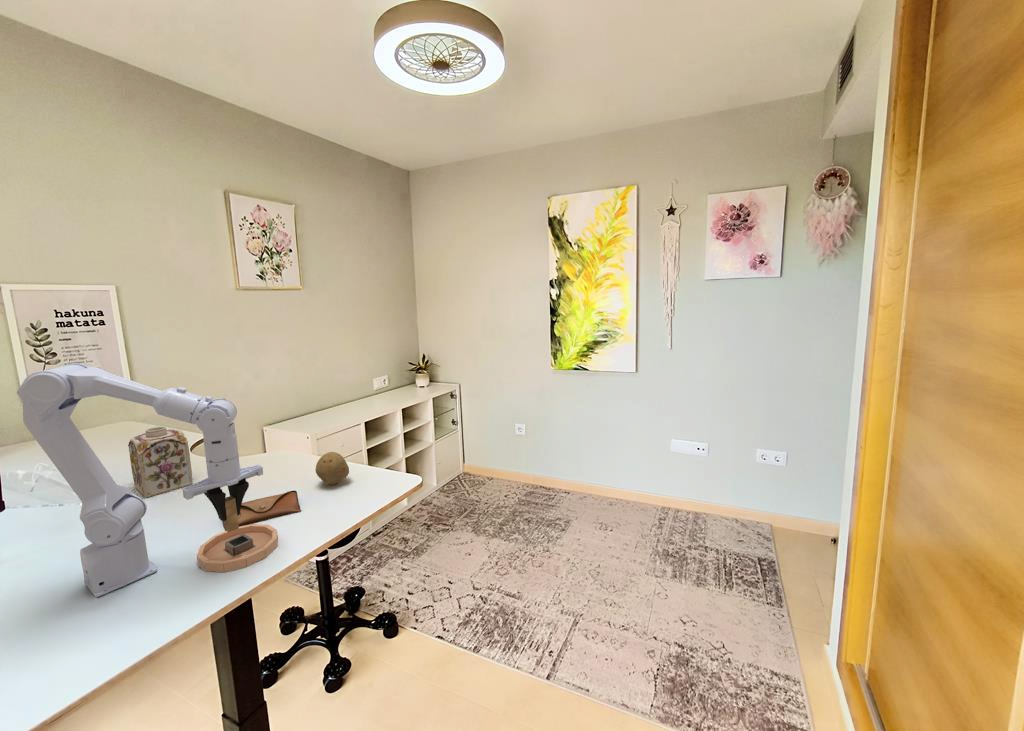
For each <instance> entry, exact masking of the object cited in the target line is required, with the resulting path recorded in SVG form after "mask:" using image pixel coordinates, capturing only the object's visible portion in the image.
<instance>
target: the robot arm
mask: <svg viewBox="0 0 1024 731" xmlns="http://www.w3.org/2000/svg"><path fill="white" fill-rule="evenodd" d="M187 389H188V388H186V387H183V386H179V387H177V388H176V387H169V388H166V389H164V390H160V389H159V388H155V387H151V386H149V385H146V384H143V383H140V382H137V381H134V380H132V379H129V378H126V377H122V376H119V375H117V374H114V373H111V372H108V371H106V370H103V369H102V368H100V367H96V366H95V367H94V366H88V365H85V364H83V363H79V362H70V363H66V364H64V365H62V366H57V367H54V368H51V369H46V370H39V371H34V372H32V373H31V374H28V376H26V378H25V379H24V380H23V382H22V383H21V385H20V386H19V388H17V391H16V394H17V395H18V397H19V398H20V400H21V401H22V420H23V424H24V425H25V427H26V428H27V431H29V433H30V434H31V436H32V437H33V438H34V439H35V440H36V442H37V443H38V445H39V446H40V447H41V449H42V450H43V452H44V453H45V454H46V456H47V457H48V458H49V460H50V461H51V462H52V464H53V465H54V466H55V467H56V469H57V470H58V472H59V474H61V475H62V477H63V478H64V480H65V481H66V482H67V484H68V485H69V487H70V488H71V489H72V490H73V492H74V494H75V495H76V496H77V497H78V499H79V501H81V504H82V505H81V509H80V514H79V520H80V521H81V522H82V524H83V527H84V535H85V537H86V539H87V540H88V542H90V544H88V545H86V546H84V547H82V548H81V549H80V550H79V553H80V554H79V557H80V560H81V566H82V572H83V579H84V581H83V582H84V584H85V585H86V587H87V588H88V589H89V590H90V592H91V593H92V594H93V596H94V597H95V598H99V597H101V596H104V595H106V594H108V593H110V592H113V591H115V590H117V589H120V588H121V587H125V586H126V585H129V584H131V583H134V582H136V581H139V580H141V579H143V578H145V577H147V576H149V575H152V574H154V573H156V572H157V571H158V568H157V567H156V566H155V565H154V563H152V562H151V561H149V555H148V549H147V542H146V536H145V527H144V525H143V523H142V518H143V517H144V516H145V515H146V513H147V509H148V507H147V504H146V501H145V500H144V499H143V498H142V497H140V496H138V495H136V494H134V493H133V492H132V491H131V489H130V488H129V487H127V486H124V485H119V484H117V483H116V481H115V480H114V479H113V477H112V476H111V474H110V473H109V472H108V469H107V468H106V467H105V465H104V464H103V462H102V461H101V460H100V458H99V456H97V454H96V453H95V451H94V450H93V449H92V447H91V446H90V444H89V443H88V441H87V440H86V438H85V437H84V436H83V434H82V433H81V432H80V430H79V429H78V427H77V426H76V425H75V423H74V422H73V420H72V419H71V416H72V413H73V412H74V410H75V409H76V407H77V405H78V403H79V402H80V401H81V400H82V399H85V398H91V397H96V396H107V397H111V398H115V399H120V400H123V401H128V402H132V403H137V404H141V405H144V406H150V407H153V409H154V411H155V412H156V414H157V415H159V416H163V417H166V418H170V419H174V420H177V421H180V422H185V423H189V424H192V425H196V427H197V428H198V429H199V430H200V431H201V432H202V436H203V446H204V447H203V448H204V455H205V465H206V472H207V478H205V479H202V480H201V481H198V482H196V483H193V484H192V485H189V486H186V487H182V496H183V498H184V499H185V500H187V501H188V500H191V499H194V497H197V496H200V495H202V494H203V495H204V496H206V498H207V499H208V500H209V501H210V503H211V504H212V507H213V508H214V510H215V512H216V513H217V517H218V519H219V520H220V521H221V522H222V521H225V520H227V514H226V508H225V498H226V497H227V493H226V492H224V491H223V489H222V488H223V487H227V490H228V494H229V496H232V497H234V498H235V500H236V508H237V516H238V515H240V510H241V505H242V503H243V500H244V497H245V495H246V493H247V491H248V490H249V487H250V482H248V481H247V479H251V478H253V477H257V476H258V477H260V476H263V475H264V470H263V469H264V468H263V466H262V465H259V464H256V465H253V466H252V465H251V466H247V467H243V468H241V464H240V456H239V449H238V448H239V446H238V439H237V438H238V437H237V433H236V426H235V424H236V423H235V422H233V421H234V420H235V419H236V417H237V414H238V410H237V407H236V405H235V404H234V403H233V402H232V401H230V400H228V399H226V398H225V397H223V398H222V397H218V398H214V397H213V396H210V395H206V397H205V396H202V395H199V394H195V393H194V392H193V393H192V392H188V391H187ZM213 398H214V399H213Z"/></svg>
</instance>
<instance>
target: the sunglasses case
mask: <svg viewBox="0 0 1024 731" xmlns="http://www.w3.org/2000/svg"><path fill="white" fill-rule="evenodd" d="M299 512H300V513H301V512H302V509H301V506H300V503H299V498H298V492H297V490H289V491H286V492H283V493H280V494H275V495H269V496H265V497H261V498H257V499H252V500H248V501H244V502H242V505H241V510H240V515H238V525H239V527H240V526H245V525H250V524H258V523H259V522H263V521H268V520H271V519H276V518H279V517H284V516H288V515H291V514H292V515H293V514H297V513H299ZM221 522H222V526H223V527H224V521H222V520H221ZM224 531H226V530H225V529H224Z"/></svg>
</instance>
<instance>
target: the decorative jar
mask: <svg viewBox="0 0 1024 731" xmlns="http://www.w3.org/2000/svg"><path fill="white" fill-rule="evenodd" d="M127 447H128V452H129V458H130V459H129V460H130V467H131V474H132V479H133V480H132V481H133V485H134V488H136V489H137V491H138V492H139V493H140V494H141V495H142V496H143V497H144V498H146V499H147V498H151V497H153V496H157V495H161V494H164V493H168V492H171V491H175V490H178V489H179V490H180V489H183V488H186V487H188V486H191V485H193V484H194V483H193V470H192V462H191V454H190V448H189V447H190V446H189V441H188V439H187V437H186V435H185V433H184V432H183V431H182V430H180V429H167V427H166V426H154V427H150V428H147V429H145V432H144V433H141V434H138V435H135V436H134V437H132V438H130V440H129V442H128V445H127Z"/></svg>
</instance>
